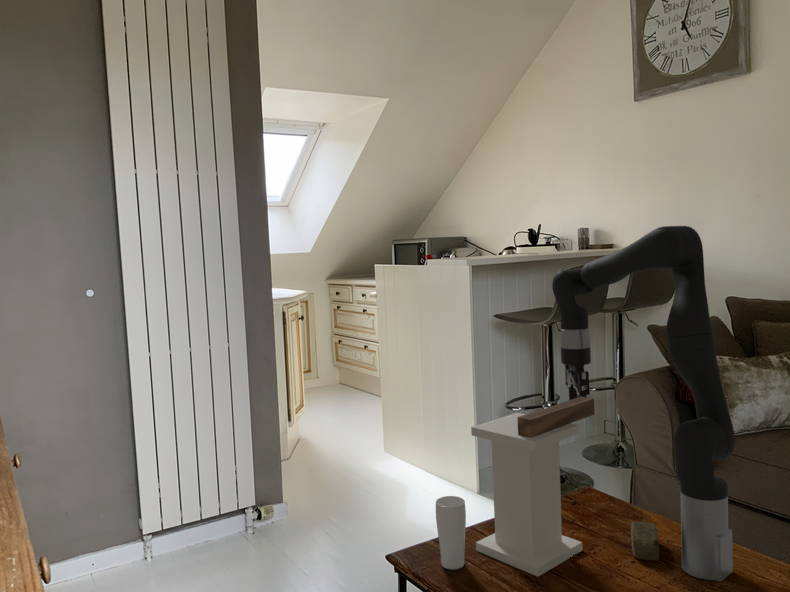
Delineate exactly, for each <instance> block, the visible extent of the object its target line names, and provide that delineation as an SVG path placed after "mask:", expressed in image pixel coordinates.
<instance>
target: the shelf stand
mask: <svg viewBox="0 0 790 592" xmlns="http://www.w3.org/2000/svg"><path fill="white" fill-rule="evenodd" d="M523 415H526V413H521V412H514V413H511V414H509V415H505V416H502V417H500V418H499V417H498V418H495V419H493V420H490V421H486V422H483V423H479V424H475V425H473V426H471V431H470V433H471V436H473V437H475V438H476V437H477V438H479V439H480V438H481V439H483V440H488V441H491V458H492V459H491V462H492V464H491V466H492V482H493V483H492V486H493V487H492V489H493V512H494V513H493V514H494V533H492V534H490V535H489V536H488V535H487V536H486V537H484V538H482V539H480V540H478V541H476V542H475V551H476V550H477V552H479V553H482V554H484V555H486V556H489V557H491V558H493V559H496V560H497V561H499V562H502V563H505V564H507V565H510V566H512V567H514V568H517V569H519V570H521V571H524V572H526V573H528V574H531V575H533V576H536V577H537V578H538V577H540V576H542V575H544V574H545V573H547V572H548V571H550V570H551V569H552V570H553V568H555V567H557V566H559V565H560V564H562V563H564V562H565V561H567V560H569V559H571V558H572V557H574V556H576V555H577V554H579V553H580V552H582V551H583V542H582V541H579V540H578V539H577V540H576V539H575V538H572V537H569V536H565V535H563V532H562V530H563V529H562V499H561V498H562V497H561V492H562V491H561V468H560V467H561V466H560V441H563V440H567V439H569V438H571V437H573V436H576V435H578V434H580V425H579V424H576V423H570V424H567V425H565V426H562V427H559V428H556V429H554V430H551V431H548V432H545V433H543V434H540V435H537V436H534V437H532V438H530V437H525V436H521V435H518V419H517V417H520V416H523ZM575 554H576V555H575ZM573 555H574V556H573ZM570 557H571V558H570Z"/></svg>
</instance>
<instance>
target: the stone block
mask: <svg viewBox="0 0 790 592" xmlns="http://www.w3.org/2000/svg"><path fill="white" fill-rule="evenodd" d="M630 524H631V525H630V527H631V528H630V537H631V538H630V539H631V550H632V555H633V557H634V558H636V559H638V560H642V561H643V560H644V561H649V562H651V561H653V562H654V561H657V562H658V561H659V560H660V540H659V536H658V527H657V524H655V523H652V522H645V521H644V522H643V521H634V520H633V521H631V522H630Z"/></svg>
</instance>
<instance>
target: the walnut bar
mask: <svg viewBox="0 0 790 592" xmlns="http://www.w3.org/2000/svg"><path fill="white" fill-rule="evenodd" d="M525 414H526V413H525ZM592 416H595V398H592V397H588V396H587V397H578V398H575V399H572V400H569V399H568V400H565V401H564V402H559V403H558V404H557V403H556V404H554V405H550V406H548V407H545V408H542V409H539V410H536V411H533V412H530V413H527V414H526V415H523V416H520V417H517V419H518V435H521V436H525V437H530V438H532V437H534V436H537V435H540V434H543V433H545V432H548V431H551V430H554V429H556V428H559V427H562V426H565V425H567V424H570V423H571V424H574V423H576V422H578V421H581V420H584V419H585V418H589V417H592Z"/></svg>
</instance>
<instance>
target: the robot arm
mask: <svg viewBox="0 0 790 592" xmlns="http://www.w3.org/2000/svg"><path fill="white" fill-rule="evenodd" d="M703 249H704V248H703V242H702V239H701V236H700V235H699V233H698V232H697V230H696V229H695V228H693V227H691V226H689V225H688V226H687V225H668V226H659V227H657V228H654V229H653V230H651V231H649V232H648V233H647V234H645V235H644V236H642V237H640V238H638V239H637V240H635V241H634V242H632V243H630V244H629V245H627V246H626V247H623V248H621V249H619V250H616V251H614V252H612V253H609V254H606V255H604V256H601V257H598V258H596V259H594V260H591V261H589V262H587V263H586V264H584V265H583V267H581V268H575V269H563V270H562V269H561V270H559V271H557V272H556V273H555V275H554V276H553V277H552V278H553V279H552V283H551V284H552V285H551V286H552V287H551V288H552V291H553V292H552V293H553V295H554V299H555V302H556V305H557V309H558V311H559V314H560V315H559V319H560V322H559V323H560V335H559V341H560V360H561V364H563V365H564V370H565V371H564V372H565V373H564V375H565V382H564V383H565V386H566V387H567V390H568V401H569V400H572V399H575V398H578V397H588V396H589V395H590V394H591V392H590V391H591V390H590V389H591V387H590V377H589V376H590V372H589V371H587V370H585V367H584V366H585V365H589V364H591V362H592V354H591V353H592V352H591V351H592V350H591V336H590V330H589V311H588V308H587V307H585V306H584V305H580V304H578V303H577V300H576V298H575V297H579V296H586V295H588V294H592V293H593V292H595V291H597V290H598V289H600V288H604V287H607V286H610V285H613V284H615V283H618V282H620V281H622V280H624V279H625V278H627V277H628V276H629V275H631V274H633V273H637V272H640V271H645V270H652V269H671V272H672V277H673V278H672V279H673V284H674V287H673V288H674V296H673V300H672V304H671V307H670V310H669V313H668V318H667V321H666V327H665V328H666V329H665V330H666V338H667V339H666V341H667V345H668V354H669V357H670V360H671V363H672V365H673V367H674V368H675V370H676V371H677V373H678V374H679V376H680V377H681V379H682V380H683V381H684V383H685V385H687V387H688V388H689V390H690V392H691V395H692V397H693V398H692V399H693V401H694V406H695V413H696V419H695V418H694V419H691V420H687V421H684V422H682V423H680V424H679V425H678V426H677V428H676V430H675V433H674V438H673V439H674V442H673V445H674V446H673V448H674V458H675V459H674V461H675V470H676V471H675V472H676V477H677V480H678V482H679V486H680V487H679V488H680V534H681V535H680V539H681V540H680V542H681V543H680V544H681V547H680V549H681V568H682V570H683V571H684V572H685V573H687V574H688V575H689V576H692V577H694V578H698V579H701V580H706V581H717V582H719V583H722V582H723V581H724V580H725V579H726V578H728V576H730V575H731V574H732V573H733V570H734V569H733V568H734V567H733V563H734V562H733V529H732V528H729V488H728V487H729V486H728V483H727V481H726V480H725V479H723V478H722V477H720V476H718V475H715V473H714V472H715V471H714V462H717V461H720V460H724V459H727V458H728V457H730V456H731V455H732V454H733V452H734V450H735V446H736V436H735V435H736V434H735V430H734V425H733V422H732V419H731V415H730V412H729V409H728V405H727V401H726V398H725V397H726V396H725V395H724V389H723V385H722V379H721V374H720V369H719V364H718V358H717V350H716V344H715V338H714V337H715V335H714V332H713V326H712V322H711V316H710V310H709V304H708V303H709V302H708V297H707V290H706V289H707V288H706V279H705V261H704V250H703Z"/></svg>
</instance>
